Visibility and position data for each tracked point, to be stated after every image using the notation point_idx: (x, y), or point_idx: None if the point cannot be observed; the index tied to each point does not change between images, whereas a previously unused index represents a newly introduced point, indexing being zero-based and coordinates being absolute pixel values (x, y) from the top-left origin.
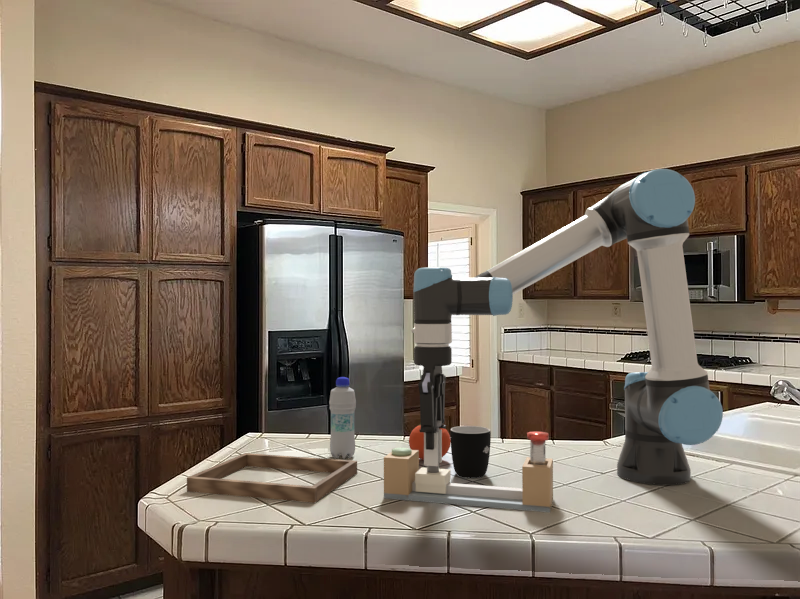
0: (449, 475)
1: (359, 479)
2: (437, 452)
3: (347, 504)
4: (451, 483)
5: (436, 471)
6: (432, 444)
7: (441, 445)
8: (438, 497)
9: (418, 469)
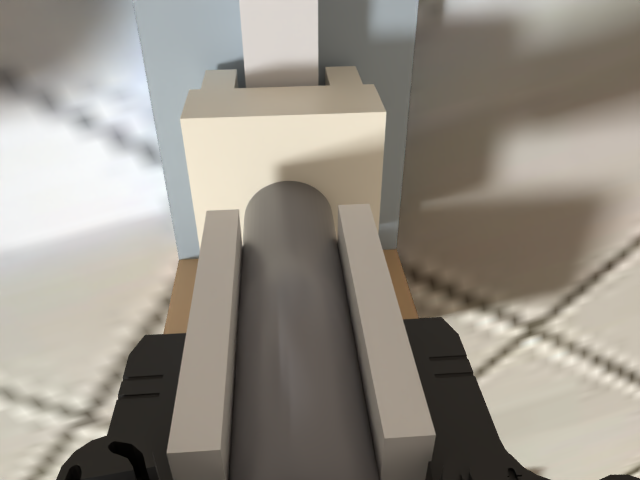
0: (226, 102)
1: None
2: (383, 272)
3: (490, 401)
4: (255, 62)
5: (316, 194)
6: (466, 358)
7: (206, 303)
8: (408, 92)
9: (178, 317)
